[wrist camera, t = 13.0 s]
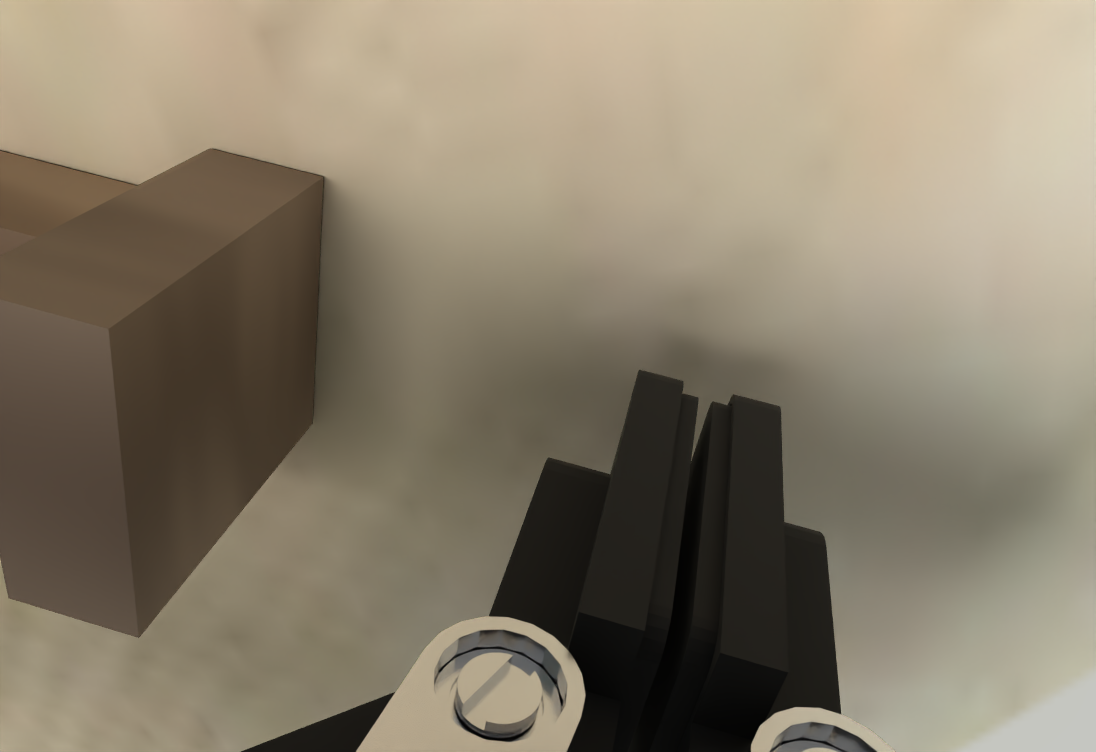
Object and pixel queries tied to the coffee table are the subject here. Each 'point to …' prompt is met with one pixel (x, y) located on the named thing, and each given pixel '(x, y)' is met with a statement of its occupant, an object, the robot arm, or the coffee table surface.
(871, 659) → the coffee table surface
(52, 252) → the paddle tray
